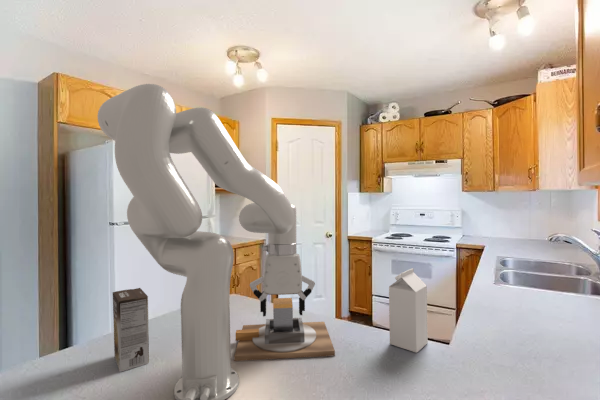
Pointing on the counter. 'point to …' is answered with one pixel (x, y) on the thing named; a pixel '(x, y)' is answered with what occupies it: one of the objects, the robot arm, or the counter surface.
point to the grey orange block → (283, 314)
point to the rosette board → (283, 341)
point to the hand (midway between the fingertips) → (282, 314)
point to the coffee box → (131, 328)
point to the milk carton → (408, 312)
